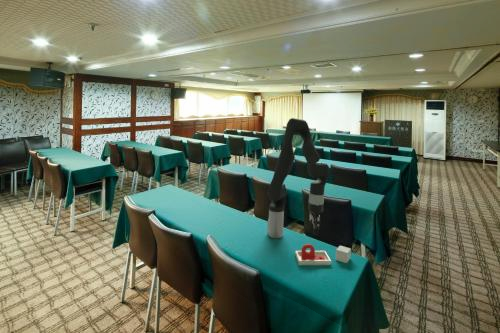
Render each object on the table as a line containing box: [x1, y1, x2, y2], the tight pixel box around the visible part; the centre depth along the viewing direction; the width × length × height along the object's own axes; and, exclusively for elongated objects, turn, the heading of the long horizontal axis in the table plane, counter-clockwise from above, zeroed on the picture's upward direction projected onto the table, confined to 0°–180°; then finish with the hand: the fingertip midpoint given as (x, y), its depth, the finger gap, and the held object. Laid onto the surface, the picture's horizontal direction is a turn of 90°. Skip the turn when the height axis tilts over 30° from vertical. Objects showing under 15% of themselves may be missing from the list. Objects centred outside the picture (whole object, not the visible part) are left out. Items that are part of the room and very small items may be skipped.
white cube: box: [335, 245, 352, 264], centre depth 150 cm, size 6×6×6 cm
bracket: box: [301, 243, 325, 260], centre depth 147 cm, size 12×4×8 cm, turn 90°
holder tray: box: [294, 250, 332, 266], centre depth 149 cm, size 11×17×2 cm, turn 92°
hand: (313, 231), depth 146 cm, fingers open, 8 cm apart
